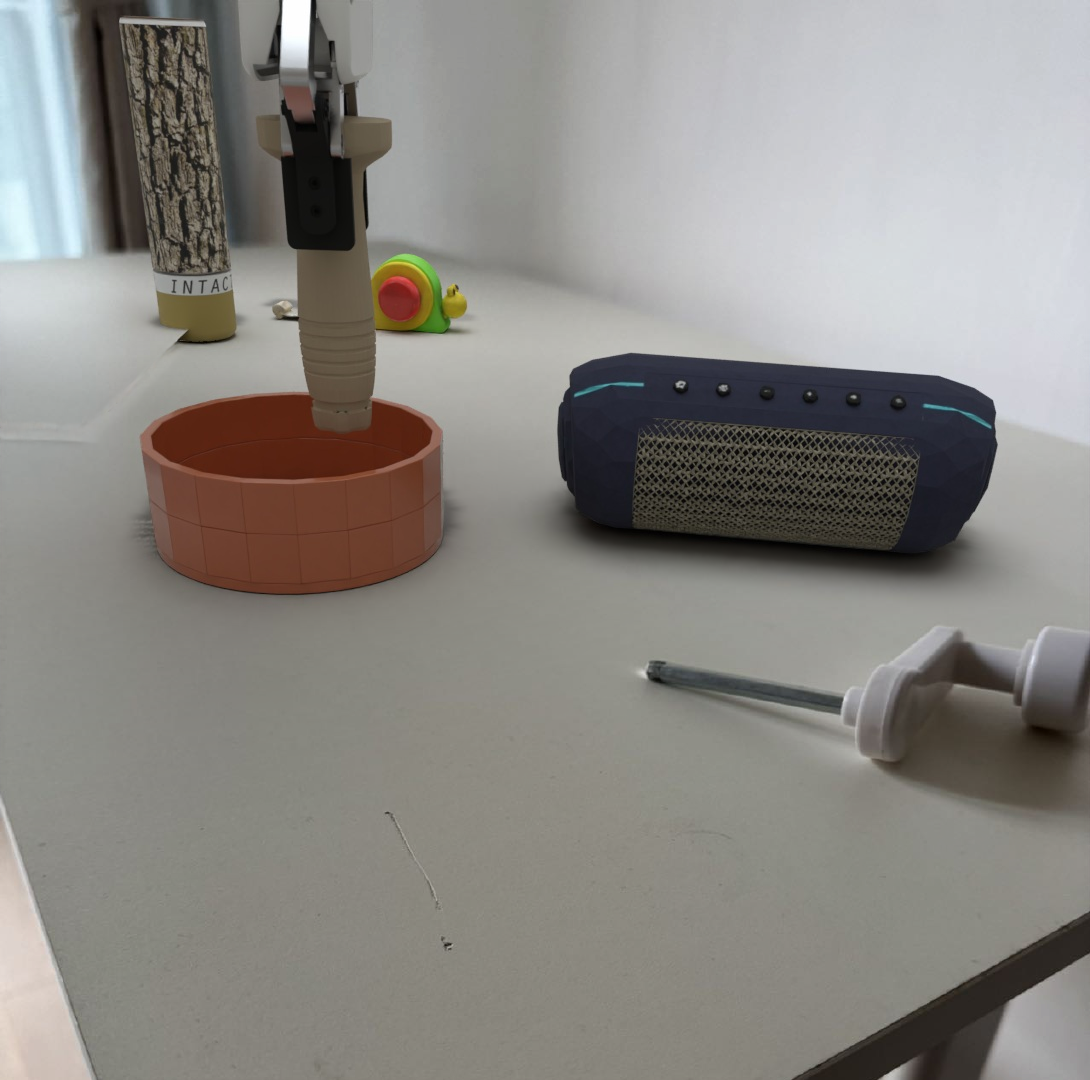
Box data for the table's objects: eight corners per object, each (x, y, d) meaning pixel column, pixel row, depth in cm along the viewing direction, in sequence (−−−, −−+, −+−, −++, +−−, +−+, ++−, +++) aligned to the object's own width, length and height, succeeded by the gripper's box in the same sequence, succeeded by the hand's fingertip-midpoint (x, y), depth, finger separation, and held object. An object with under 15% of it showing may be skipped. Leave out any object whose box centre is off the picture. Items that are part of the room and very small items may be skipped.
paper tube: (149, 332, 105) (103, 14, 91) (216, 324, 109) (182, 18, 95) (182, 347, 100) (140, 16, 87) (251, 338, 104) (220, 20, 91)
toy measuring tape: (458, 339, 107) (458, 265, 104) (264, 323, 110) (258, 251, 106) (474, 325, 112) (474, 254, 109) (288, 310, 115) (283, 240, 111)
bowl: (119, 590, 58) (99, 477, 55) (195, 482, 72) (183, 387, 69) (433, 598, 59) (432, 487, 55) (449, 489, 72) (449, 396, 69)
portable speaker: (541, 547, 65) (548, 371, 60) (562, 488, 73) (569, 330, 68) (987, 587, 63) (1035, 408, 57) (956, 522, 71) (995, 360, 66)
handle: (402, 440, 60) (391, 124, 52) (280, 441, 60) (250, 120, 52) (401, 414, 64) (391, 116, 56) (287, 414, 64) (260, 112, 56)
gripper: (252, -197, 54) (285, 213, 64) (156, -278, 40) (217, 267, 50) (408, -189, 55) (417, 218, 64) (368, -268, 40) (388, 273, 50)
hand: (330, 235), depth 57 cm, fingers closed on handle, 4 cm apart
